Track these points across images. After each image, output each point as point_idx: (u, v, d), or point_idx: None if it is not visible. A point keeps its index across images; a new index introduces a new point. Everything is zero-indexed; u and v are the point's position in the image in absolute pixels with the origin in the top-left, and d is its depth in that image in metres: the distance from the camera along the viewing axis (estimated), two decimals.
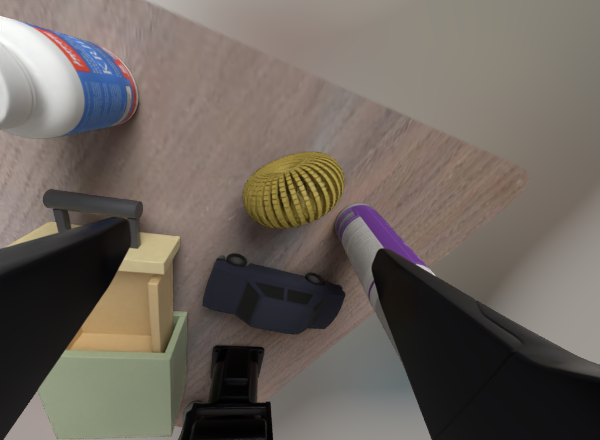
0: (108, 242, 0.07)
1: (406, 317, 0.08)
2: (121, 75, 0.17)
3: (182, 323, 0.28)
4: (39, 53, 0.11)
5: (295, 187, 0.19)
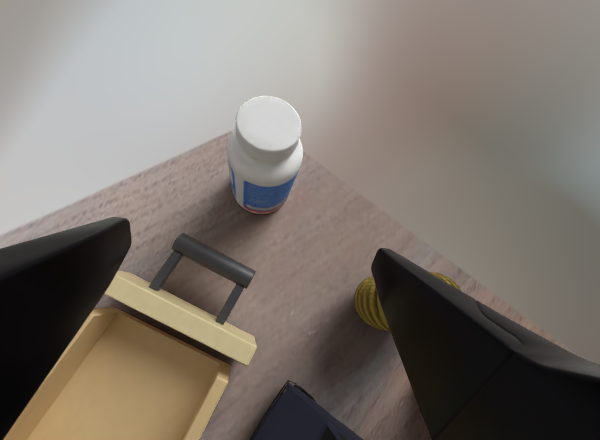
0: (108, 242, 0.07)
1: (406, 317, 0.08)
2: None
3: None
4: (298, 141, 0.18)
5: None
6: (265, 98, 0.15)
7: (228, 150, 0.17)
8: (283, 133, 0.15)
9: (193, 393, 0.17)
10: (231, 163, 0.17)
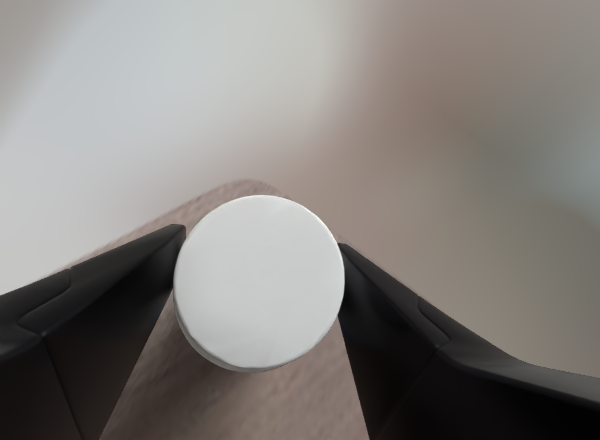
0: (174, 248, 0.07)
1: (353, 314, 0.07)
2: None
3: None
4: None
5: None
6: (255, 203, 0.06)
7: (174, 300, 0.08)
8: (300, 304, 0.06)
9: None
10: (181, 327, 0.08)
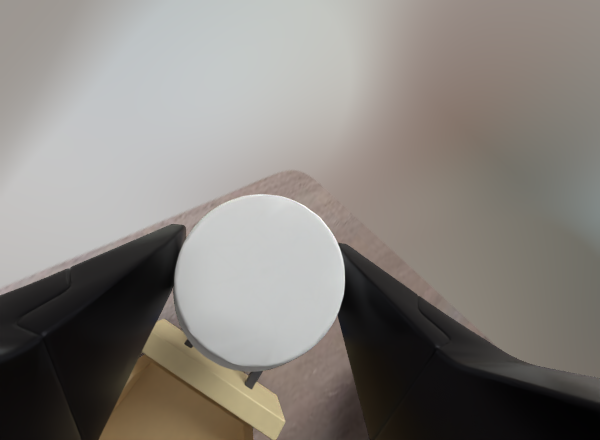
0: (174, 248, 0.07)
1: (353, 314, 0.07)
2: None
3: None
4: None
5: None
6: (256, 202, 0.06)
7: (174, 299, 0.08)
8: (300, 303, 0.06)
9: None
10: None
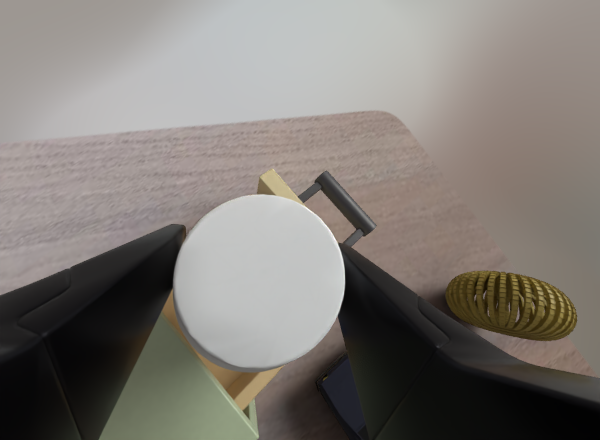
0: (174, 248, 0.07)
1: (353, 314, 0.07)
2: None
3: (254, 402, 0.16)
4: None
5: (508, 304, 0.20)
6: (255, 202, 0.06)
7: (174, 300, 0.07)
8: (300, 303, 0.06)
9: None
10: None
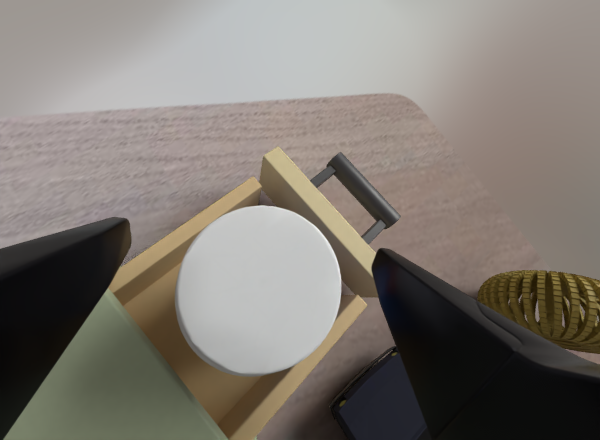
0: (108, 242, 0.07)
1: (406, 317, 0.08)
2: None
3: None
4: None
5: None
6: (255, 213, 0.06)
7: (176, 306, 0.08)
8: (298, 312, 0.06)
9: None
10: None
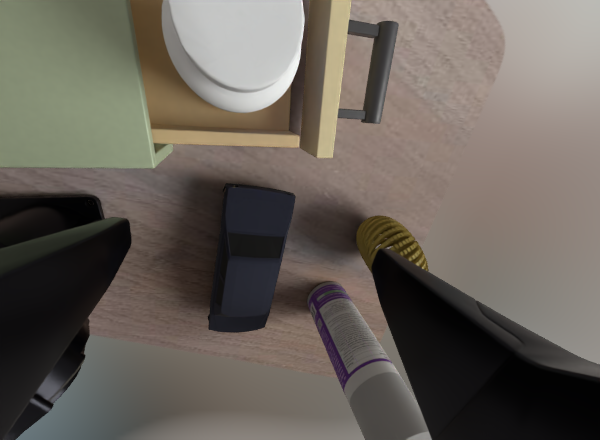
0: (108, 242, 0.07)
1: (406, 317, 0.08)
2: None
3: (168, 153, 0.17)
4: (288, 75, 0.10)
5: None
6: None
7: None
8: (246, 57, 0.08)
9: (258, 119, 0.18)
10: (162, 11, 0.09)
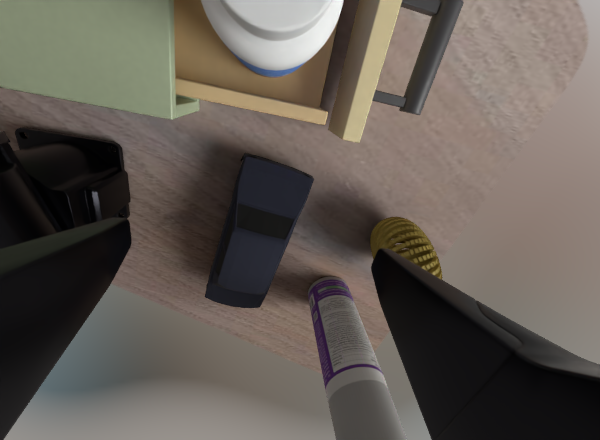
0: (108, 242, 0.07)
1: (406, 317, 0.08)
2: None
3: (193, 111, 0.17)
4: (323, 30, 0.09)
5: None
6: None
7: None
8: None
9: (289, 89, 0.17)
10: None
